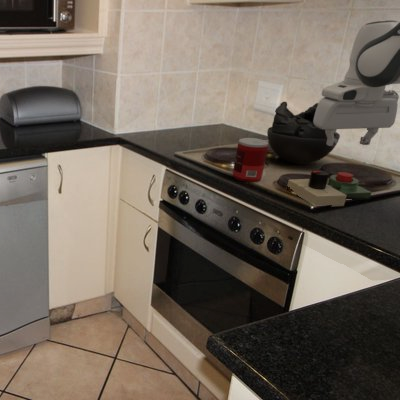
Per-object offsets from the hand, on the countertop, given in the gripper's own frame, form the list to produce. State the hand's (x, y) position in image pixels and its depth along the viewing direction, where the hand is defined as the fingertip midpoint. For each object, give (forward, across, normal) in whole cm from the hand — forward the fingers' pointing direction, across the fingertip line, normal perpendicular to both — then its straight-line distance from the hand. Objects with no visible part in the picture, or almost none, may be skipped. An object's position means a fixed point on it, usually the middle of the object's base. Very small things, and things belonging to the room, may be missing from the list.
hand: (347, 144), depth 123 cm
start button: (+10, -2, -1) cm, 10 cm away
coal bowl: (+14, -6, -26) cm, 30 cm away
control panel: (+14, +7, +2) cm, 16 cm away
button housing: (+14, -2, 0) cm, 14 cm away
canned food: (+14, +17, -14) cm, 26 cm away
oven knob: (+11, +7, +2) cm, 13 cm away
